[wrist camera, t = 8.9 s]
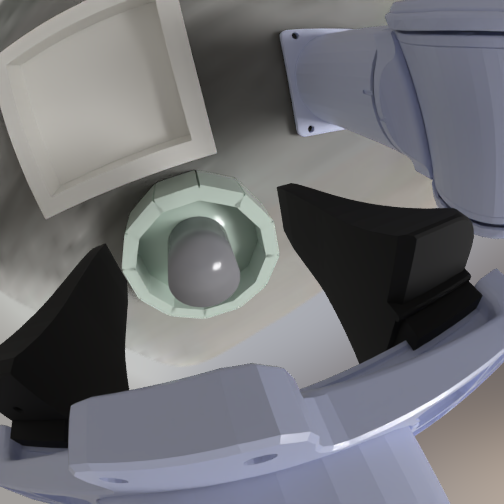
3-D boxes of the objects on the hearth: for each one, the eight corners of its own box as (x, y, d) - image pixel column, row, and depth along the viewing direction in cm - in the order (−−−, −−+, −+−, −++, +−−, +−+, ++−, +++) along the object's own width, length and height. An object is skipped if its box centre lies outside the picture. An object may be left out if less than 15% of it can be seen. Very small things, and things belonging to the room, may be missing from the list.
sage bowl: (251, 153, 19) (263, 165, 17) (274, 270, 26) (285, 292, 23) (104, 202, 18) (95, 221, 16) (159, 307, 25) (160, 331, 22)
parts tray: (171, -15, 11) (171, -29, 9) (211, 143, 18) (217, 153, 16) (10, 60, 10) (-11, 61, 8) (58, 202, 17) (45, 219, 15)
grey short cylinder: (212, 205, 20) (222, 237, 16) (237, 252, 23) (250, 289, 19) (156, 234, 20) (154, 270, 16) (185, 276, 23) (190, 316, 19)
